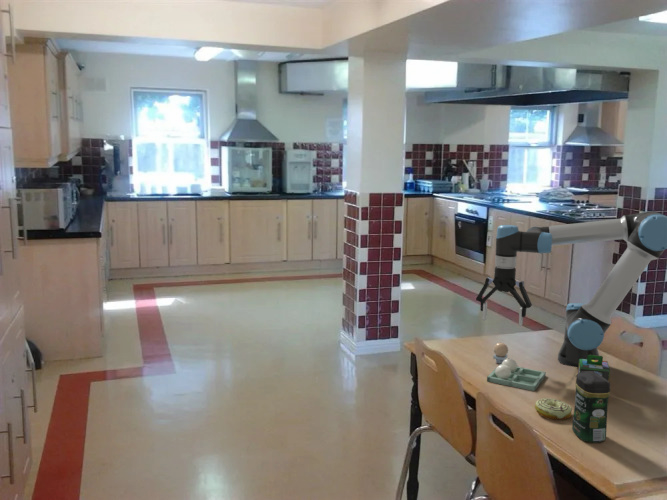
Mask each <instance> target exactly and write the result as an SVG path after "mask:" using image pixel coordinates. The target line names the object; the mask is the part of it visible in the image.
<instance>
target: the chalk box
mask: <svg viewBox="0 0 667 500" xmlns="http://www.w3.org/2000/svg"><path fill="white" fill-rule="evenodd" d="M592 358H597V359H598V360H591V359H592ZM603 358H604V357H603V355H599V356H598V355H588V357H587V359H579V368H578V370H577V371H578V373H577V375H578V374H579V373H580V372H581V371H594V372H595V373H597V374H599V375H600V376H602V377H603V378H605V379H606V380H607V381H609V382H610V375H611V372H610V371H611V370H610V366H609V362H608V360H604V359H603Z"/></svg>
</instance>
